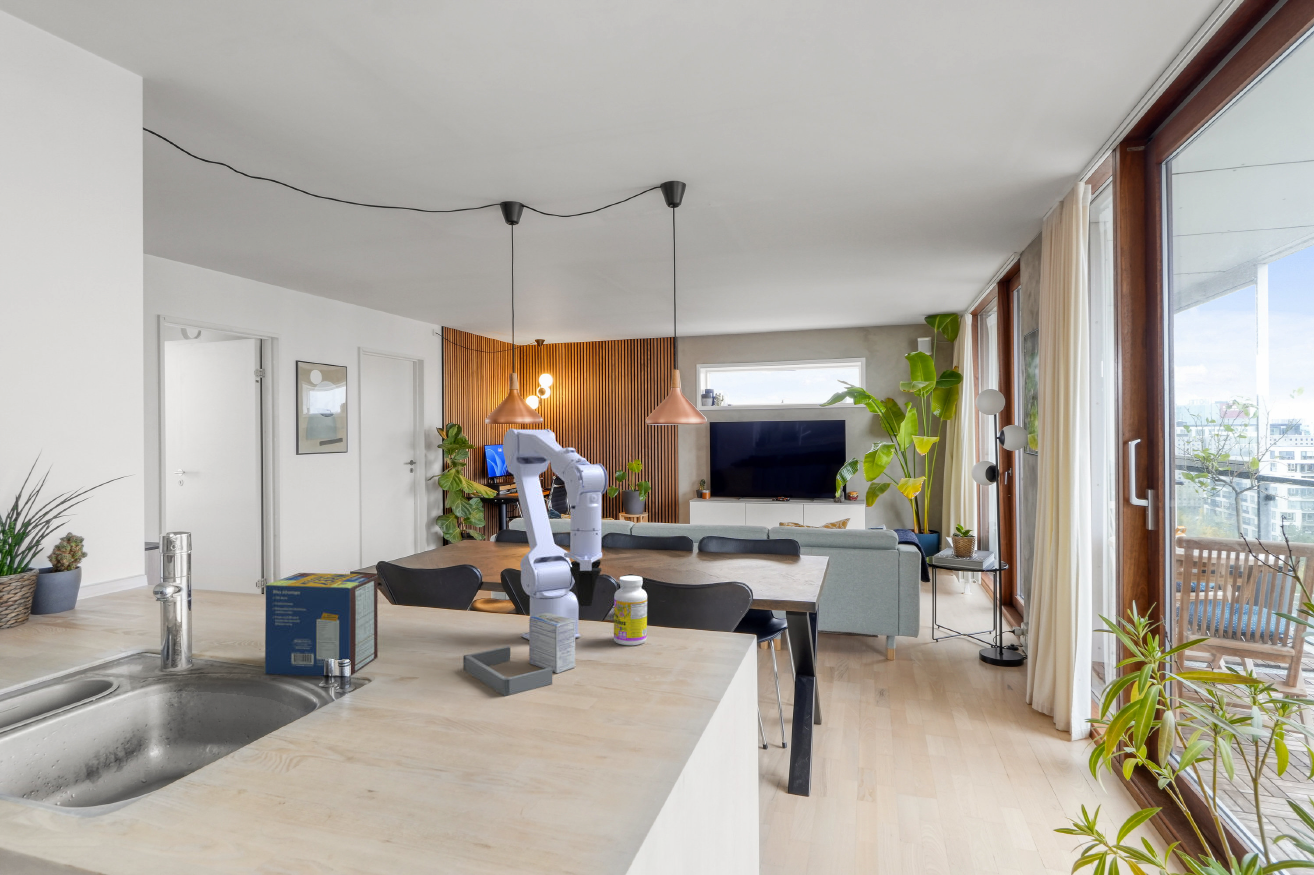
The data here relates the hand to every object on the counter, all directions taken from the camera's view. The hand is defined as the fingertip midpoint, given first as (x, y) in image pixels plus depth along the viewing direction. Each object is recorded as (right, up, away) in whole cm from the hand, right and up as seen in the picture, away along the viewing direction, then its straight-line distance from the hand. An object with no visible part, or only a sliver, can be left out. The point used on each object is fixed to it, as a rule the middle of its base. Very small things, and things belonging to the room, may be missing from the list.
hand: (585, 602), depth 129 cm
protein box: (-46, -10, -5) cm, 48 cm away
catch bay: (-13, -10, -10) cm, 19 cm away
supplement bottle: (+8, -11, +11) cm, 17 cm away
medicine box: (-6, -11, -4) cm, 13 cm away
